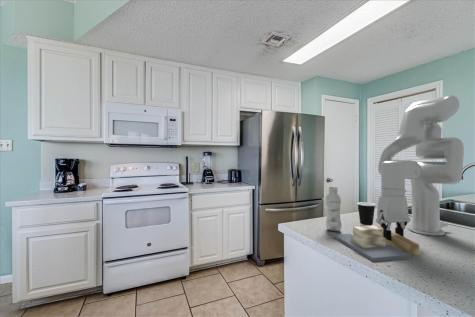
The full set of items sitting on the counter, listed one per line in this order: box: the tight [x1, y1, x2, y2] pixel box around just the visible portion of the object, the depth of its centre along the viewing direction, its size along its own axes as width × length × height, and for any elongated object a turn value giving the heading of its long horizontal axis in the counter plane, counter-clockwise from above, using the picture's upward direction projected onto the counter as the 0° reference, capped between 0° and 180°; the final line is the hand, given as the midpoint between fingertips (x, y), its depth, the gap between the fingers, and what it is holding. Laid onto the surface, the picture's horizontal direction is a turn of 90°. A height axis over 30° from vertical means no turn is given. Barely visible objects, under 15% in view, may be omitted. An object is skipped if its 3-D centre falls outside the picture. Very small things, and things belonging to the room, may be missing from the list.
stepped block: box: [350, 225, 386, 248], centre depth 83 cm, size 9×7×6 cm
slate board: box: [333, 233, 412, 263], centre depth 83 cm, size 14×22×1 cm, turn 8°
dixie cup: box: [356, 201, 377, 226], centre depth 108 cm, size 8×8×11 cm
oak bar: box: [377, 225, 420, 256], centre depth 85 cm, size 4×20×4 cm, turn 178°
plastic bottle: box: [325, 186, 343, 232], centre depth 101 cm, size 6×7×20 cm
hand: (393, 238), depth 85 cm, fingers closed on oak bar, 4 cm apart
